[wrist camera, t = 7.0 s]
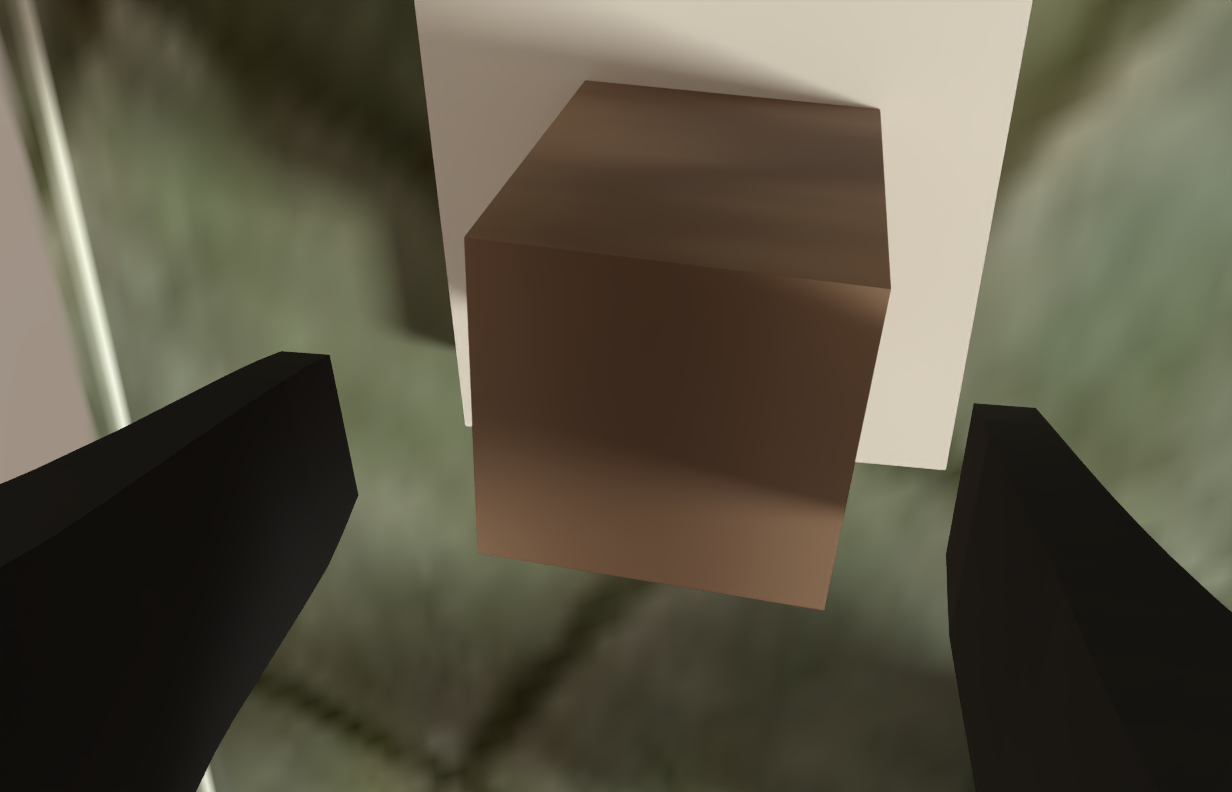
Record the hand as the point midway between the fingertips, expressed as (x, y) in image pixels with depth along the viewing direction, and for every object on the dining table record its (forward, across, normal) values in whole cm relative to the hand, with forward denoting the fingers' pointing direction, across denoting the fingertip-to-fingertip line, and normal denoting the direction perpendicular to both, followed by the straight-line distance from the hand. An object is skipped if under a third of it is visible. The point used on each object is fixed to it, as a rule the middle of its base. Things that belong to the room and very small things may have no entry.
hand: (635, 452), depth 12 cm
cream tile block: (+9, 0, 0) cm, 9 cm away
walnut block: (+6, 0, 0) cm, 6 cm away
